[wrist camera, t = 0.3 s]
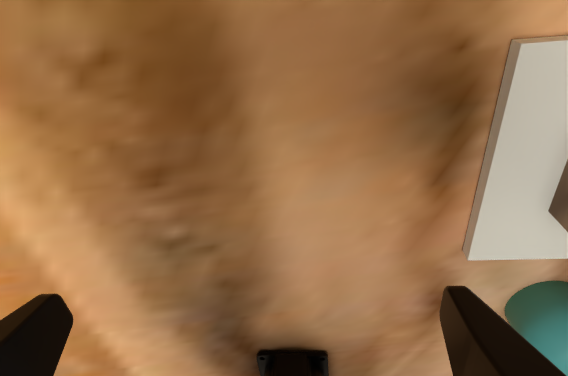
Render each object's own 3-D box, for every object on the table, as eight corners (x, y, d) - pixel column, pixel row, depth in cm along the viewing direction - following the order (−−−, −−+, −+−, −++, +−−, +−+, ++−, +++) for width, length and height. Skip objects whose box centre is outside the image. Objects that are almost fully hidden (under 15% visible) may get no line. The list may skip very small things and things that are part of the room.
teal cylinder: (569, 327, 29) (612, 390, 25) (497, 327, 30) (528, 389, 25) (594, 279, 26) (648, 341, 22) (514, 280, 27) (551, 341, 23)
